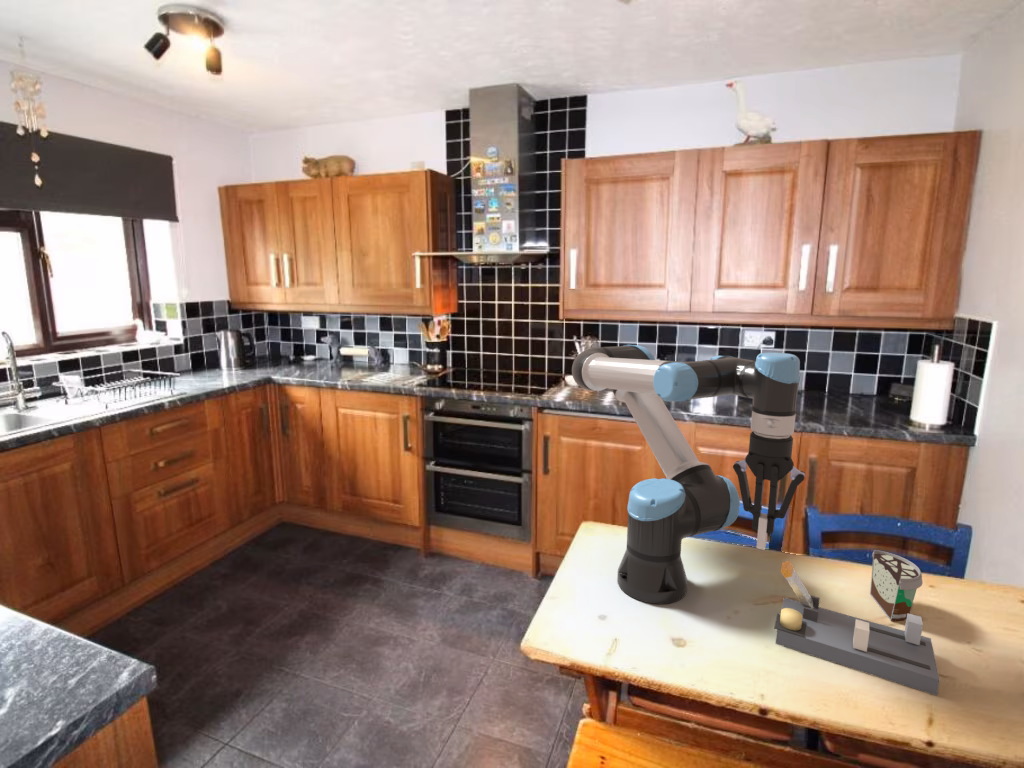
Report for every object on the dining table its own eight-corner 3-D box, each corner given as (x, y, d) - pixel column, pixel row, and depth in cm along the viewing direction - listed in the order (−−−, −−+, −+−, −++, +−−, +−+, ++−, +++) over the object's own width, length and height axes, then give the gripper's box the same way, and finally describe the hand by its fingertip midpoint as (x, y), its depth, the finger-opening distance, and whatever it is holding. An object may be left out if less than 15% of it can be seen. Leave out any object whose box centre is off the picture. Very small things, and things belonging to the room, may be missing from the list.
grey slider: (905, 641, 95) (908, 621, 94) (904, 632, 98) (907, 613, 97) (919, 645, 94) (922, 625, 93) (917, 636, 97) (921, 616, 96)
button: (778, 626, 100) (779, 615, 99) (781, 616, 102) (782, 605, 102) (800, 632, 98) (801, 622, 97) (802, 622, 101) (803, 612, 100)
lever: (808, 616, 102) (780, 571, 104) (809, 606, 106) (782, 562, 107) (815, 614, 102) (787, 568, 103) (816, 604, 105) (789, 560, 106)
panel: (772, 642, 100) (775, 618, 99) (779, 609, 110) (782, 586, 109) (936, 695, 87) (941, 668, 86) (928, 652, 97) (932, 627, 96)
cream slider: (853, 647, 94) (855, 627, 93) (853, 638, 96) (855, 619, 95) (866, 651, 93) (869, 631, 92) (866, 642, 95) (869, 622, 94)
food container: (929, 629, 103) (937, 583, 101) (894, 625, 105) (901, 580, 103) (898, 593, 115) (904, 551, 113) (866, 590, 116) (872, 548, 115)
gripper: (732, 433, 103) (723, 545, 107) (808, 443, 96) (796, 563, 100) (738, 424, 109) (730, 531, 113) (811, 433, 102) (799, 546, 106)
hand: (761, 546), depth 107 cm, fingers closed
